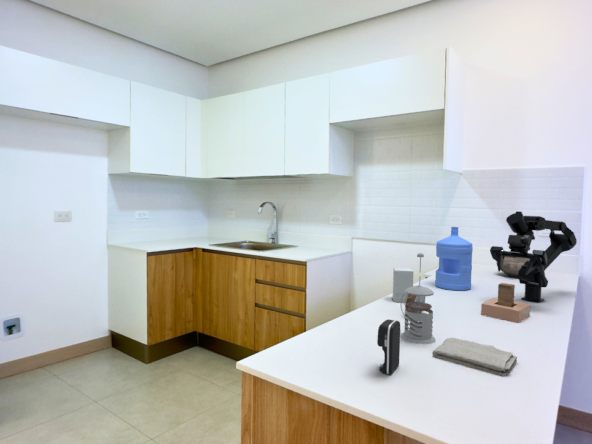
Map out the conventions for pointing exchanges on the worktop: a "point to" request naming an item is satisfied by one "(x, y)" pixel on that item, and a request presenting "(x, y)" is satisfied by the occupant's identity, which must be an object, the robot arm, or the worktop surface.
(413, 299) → the tin
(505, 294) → the peg
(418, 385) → the worktop surface
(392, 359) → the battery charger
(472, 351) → the washcloth
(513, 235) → the robot arm
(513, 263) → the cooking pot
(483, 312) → the socket
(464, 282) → the water jug
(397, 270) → the supplement box
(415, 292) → the french press
